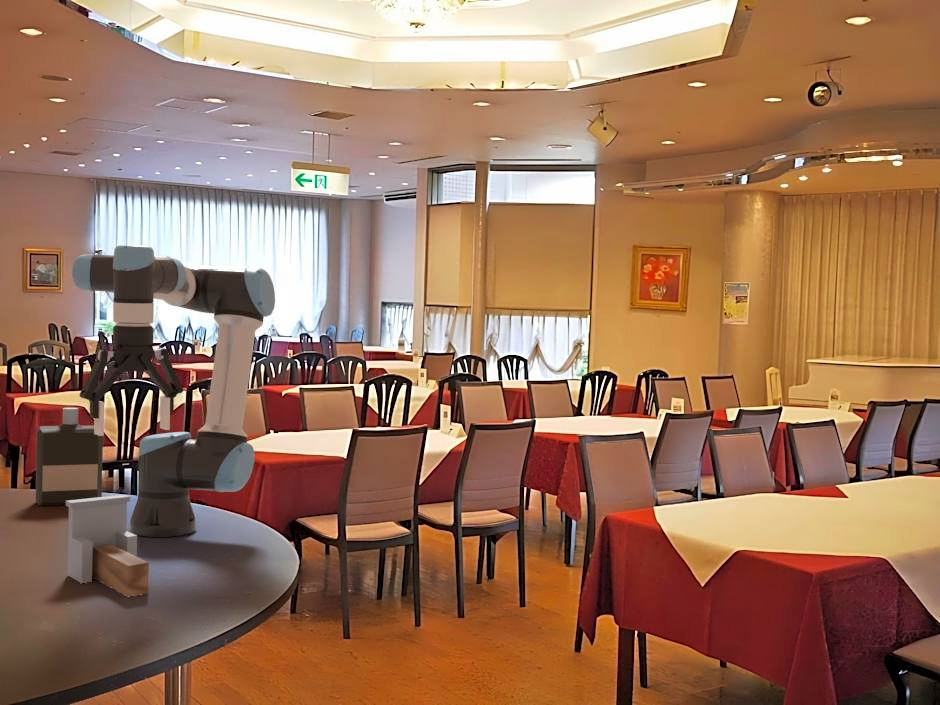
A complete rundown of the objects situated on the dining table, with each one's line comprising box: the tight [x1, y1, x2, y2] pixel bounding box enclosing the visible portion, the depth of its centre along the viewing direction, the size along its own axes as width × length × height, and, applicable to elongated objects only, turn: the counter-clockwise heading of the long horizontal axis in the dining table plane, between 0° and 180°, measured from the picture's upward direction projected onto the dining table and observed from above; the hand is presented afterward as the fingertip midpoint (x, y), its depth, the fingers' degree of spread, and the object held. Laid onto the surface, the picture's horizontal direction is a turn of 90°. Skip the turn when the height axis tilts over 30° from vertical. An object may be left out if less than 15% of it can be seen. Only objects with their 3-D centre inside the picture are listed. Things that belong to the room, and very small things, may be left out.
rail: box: [92, 545, 150, 598], centre depth 195 cm, size 4×17×6 cm, turn 42°
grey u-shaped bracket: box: [65, 494, 138, 584], centre depth 201 cm, size 12×7×15 cm, turn 133°
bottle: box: [35, 407, 104, 507], centre depth 267 cm, size 8×16×25 cm, turn 115°
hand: (132, 432), depth 200 cm, fingers open, 13 cm apart
